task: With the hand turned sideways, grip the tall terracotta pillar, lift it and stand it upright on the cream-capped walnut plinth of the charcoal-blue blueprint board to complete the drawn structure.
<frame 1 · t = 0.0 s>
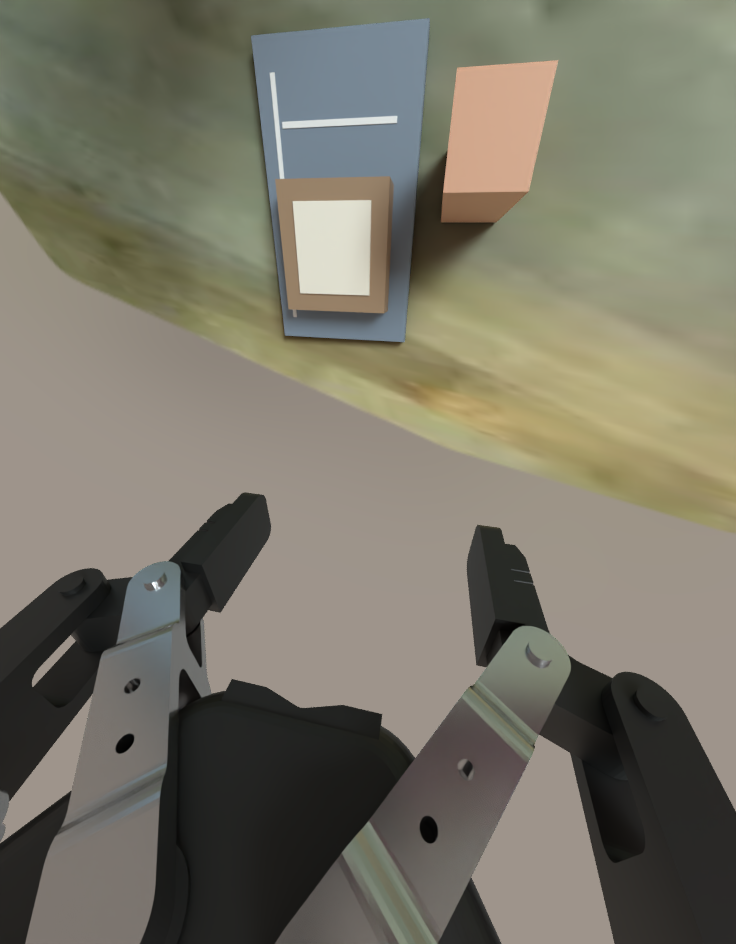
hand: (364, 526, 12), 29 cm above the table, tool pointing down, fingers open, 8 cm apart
terracotta pillar: (473, 186, 27), on the table
blueprint board: (342, 216, 30), on the table
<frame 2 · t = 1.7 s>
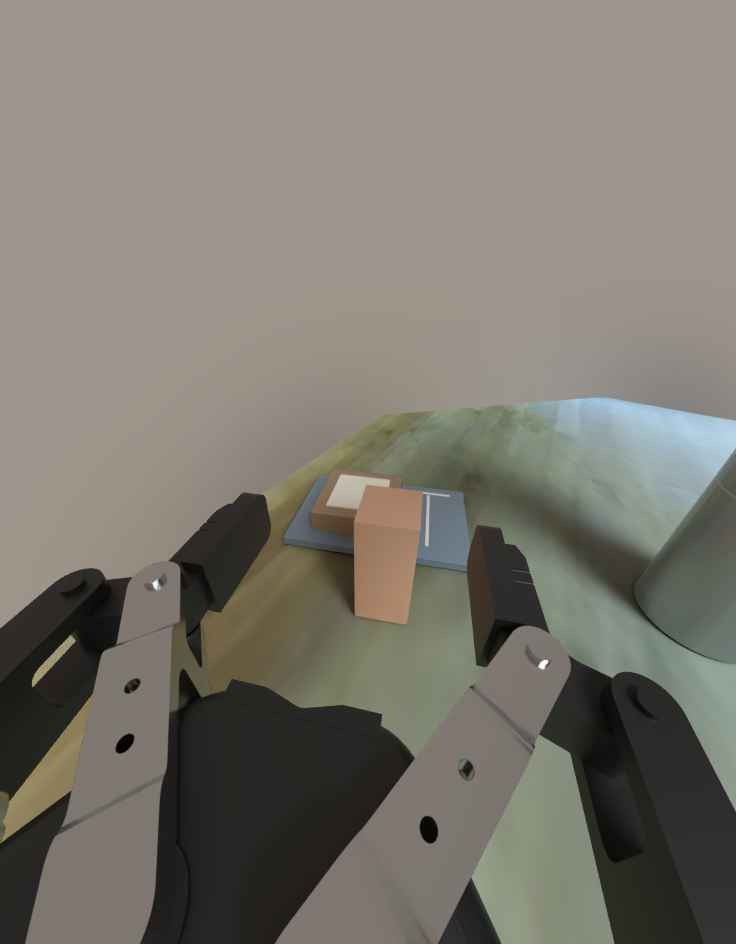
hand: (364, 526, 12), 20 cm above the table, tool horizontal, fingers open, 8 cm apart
terracotta pillar: (384, 597, 31), on the table
blueprint board: (381, 518, 42), on the table
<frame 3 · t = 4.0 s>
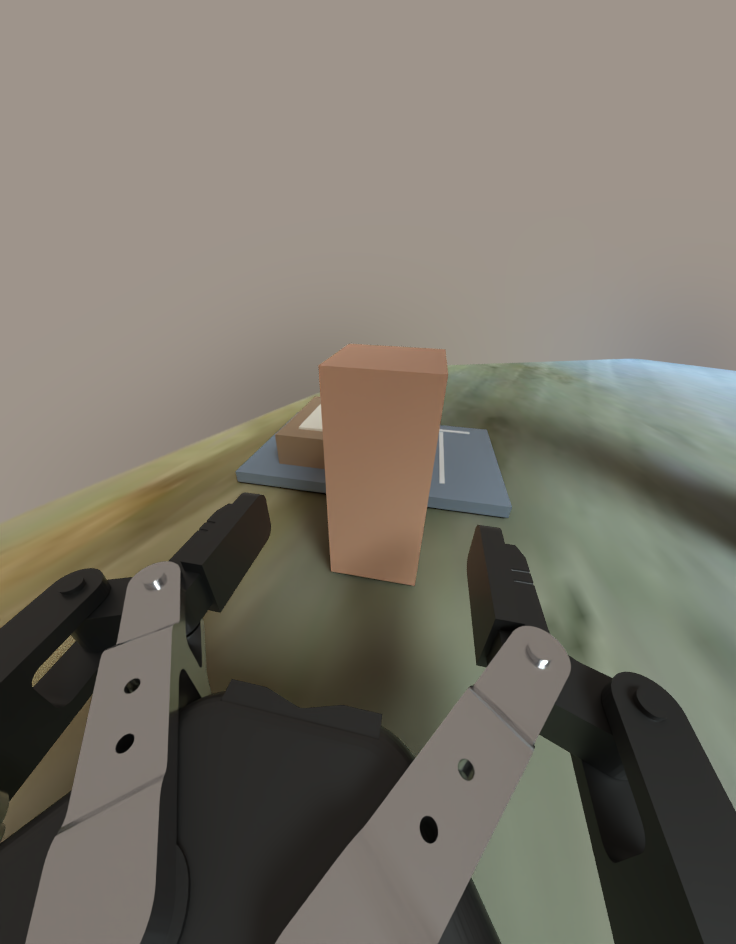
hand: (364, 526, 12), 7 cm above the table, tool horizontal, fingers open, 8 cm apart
terracotta pillar: (378, 547, 20), on the table
blueprint board: (378, 456, 31), on the table
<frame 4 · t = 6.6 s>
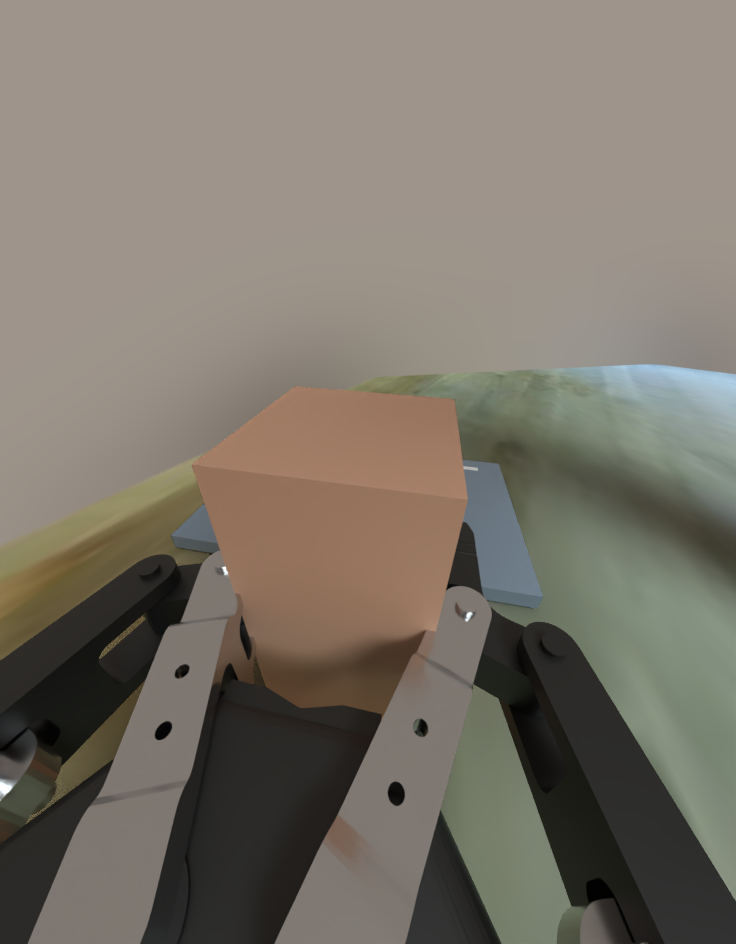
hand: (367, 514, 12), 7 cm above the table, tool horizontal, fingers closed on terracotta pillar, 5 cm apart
terracotta pillar: (354, 671, 14), on the table, touching gripper
blueprint board: (363, 503, 24), on the table
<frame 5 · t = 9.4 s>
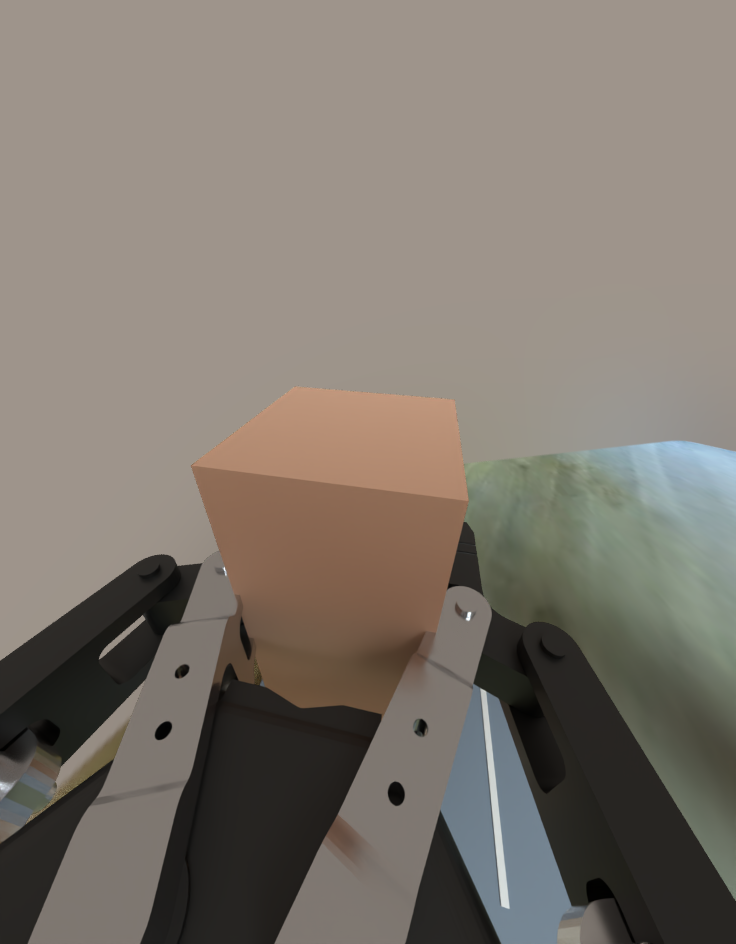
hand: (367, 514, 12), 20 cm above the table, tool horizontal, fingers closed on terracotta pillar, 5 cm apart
terracotta pillar: (354, 672, 14), point 13 cm above the table, touching gripper
blueprint board: (397, 756, 21), on the table
when the fingers open (12 cm above the table, at t = 12.2 s): terracotta pillar drops 1 cm, resting on blueprint board.
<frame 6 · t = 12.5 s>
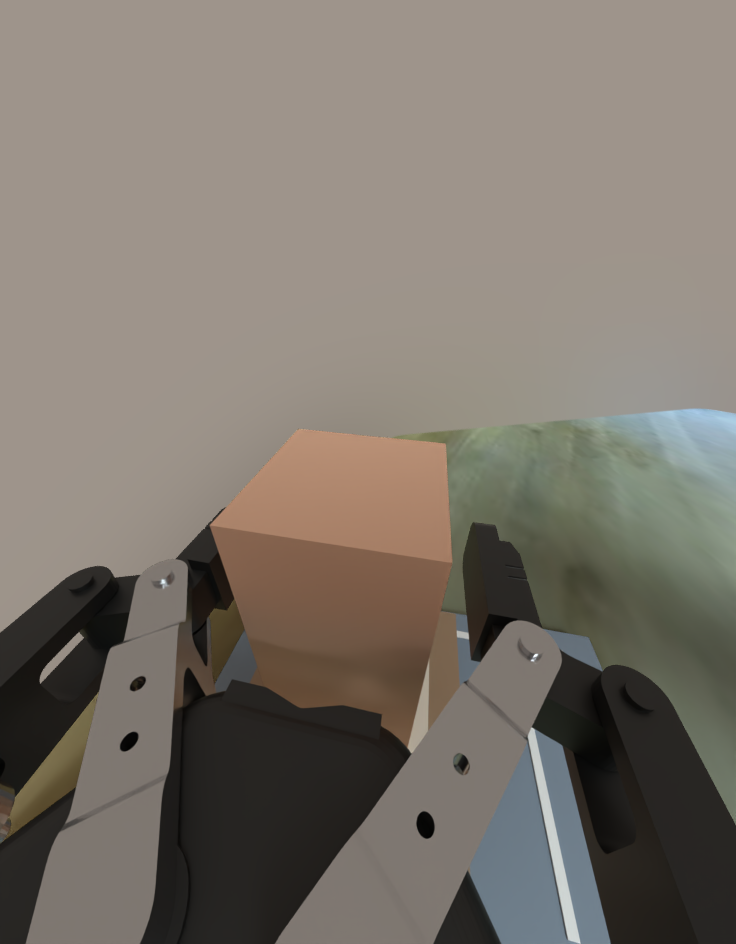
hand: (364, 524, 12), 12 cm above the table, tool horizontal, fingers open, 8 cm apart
terracotta pillar: (354, 687, 15), point 4 cm above the table, touching blueprint board
blueprint board: (409, 735, 16), on the table
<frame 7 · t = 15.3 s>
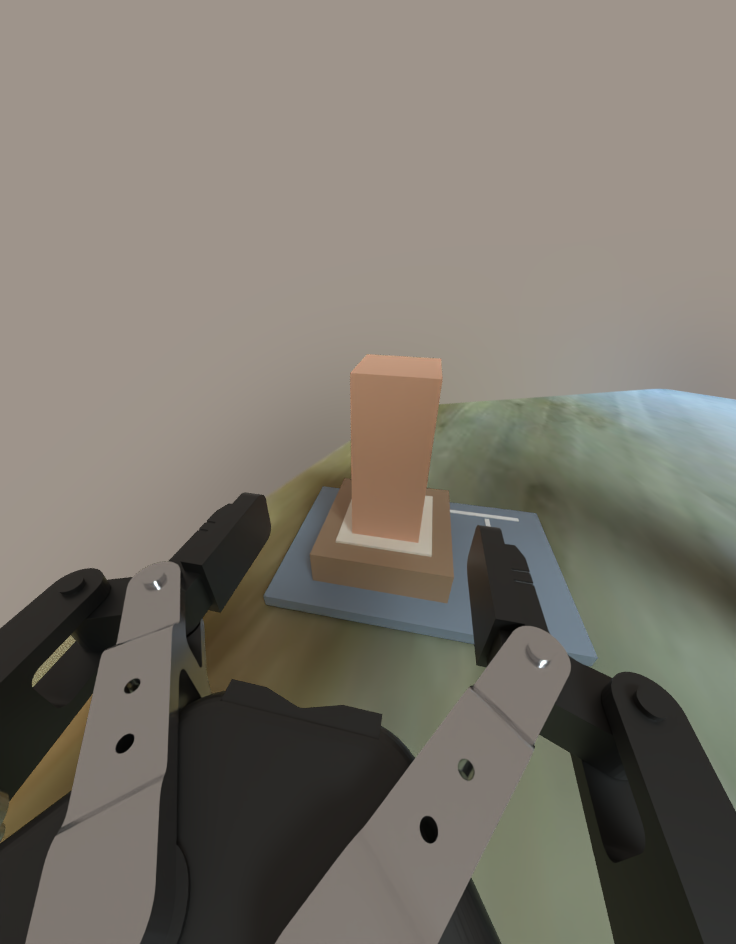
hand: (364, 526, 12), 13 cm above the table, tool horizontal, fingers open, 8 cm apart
terracotta pillar: (388, 516, 25), point 4 cm above the table, touching blueprint board
blueprint board: (420, 556, 27), on the table
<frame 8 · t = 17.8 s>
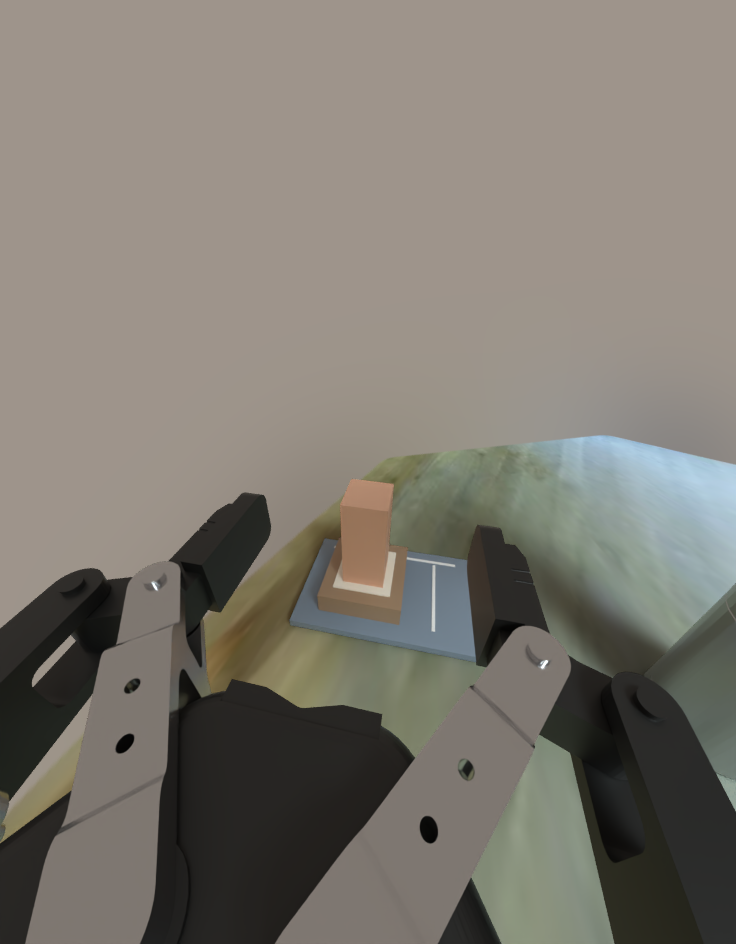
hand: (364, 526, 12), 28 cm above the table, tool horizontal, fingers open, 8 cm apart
terracotta pillar: (366, 568, 40), point 4 cm above the table, touching blueprint board
blueprint board: (387, 592, 42), on the table
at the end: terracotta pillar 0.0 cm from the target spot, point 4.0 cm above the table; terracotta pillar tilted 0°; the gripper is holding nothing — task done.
